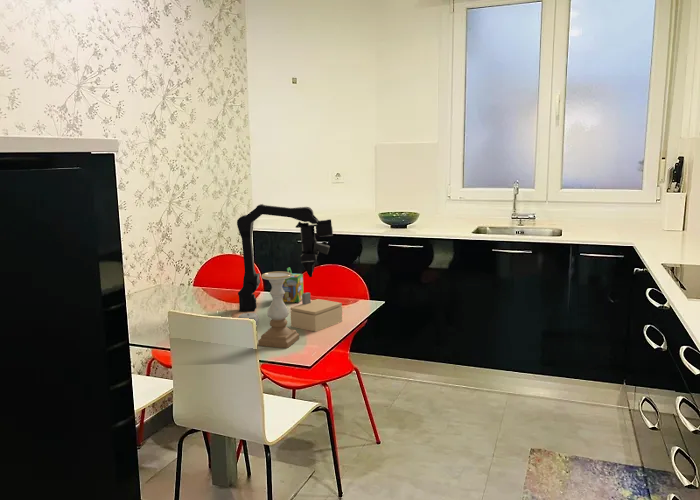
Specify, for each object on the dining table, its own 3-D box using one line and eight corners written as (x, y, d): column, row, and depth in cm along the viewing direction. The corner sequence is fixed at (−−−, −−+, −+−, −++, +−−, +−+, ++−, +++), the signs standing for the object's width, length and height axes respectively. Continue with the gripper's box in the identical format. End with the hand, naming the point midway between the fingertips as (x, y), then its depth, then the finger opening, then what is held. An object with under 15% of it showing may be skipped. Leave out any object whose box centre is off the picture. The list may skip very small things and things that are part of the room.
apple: (239, 327, 214) (238, 310, 213) (260, 327, 214) (259, 310, 213) (236, 334, 206) (235, 316, 205) (258, 333, 206) (258, 315, 205)
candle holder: (271, 336, 203) (268, 270, 199) (299, 338, 200) (297, 271, 196) (257, 345, 192) (254, 276, 189) (287, 348, 189) (285, 278, 186)
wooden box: (291, 326, 214) (290, 310, 213) (318, 316, 227) (317, 302, 226) (315, 331, 207) (315, 315, 206) (342, 321, 220) (341, 306, 219)
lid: (290, 310, 213) (290, 297, 212) (317, 301, 226) (317, 289, 225) (315, 314, 206) (314, 301, 205) (341, 305, 219) (341, 292, 218)
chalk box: (298, 303, 249) (297, 270, 247) (278, 302, 251) (277, 269, 248) (304, 298, 258) (303, 266, 256) (285, 297, 260) (284, 265, 257)
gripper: (326, 239, 225) (330, 277, 228) (328, 233, 244) (331, 268, 246) (298, 241, 226) (302, 279, 228) (302, 235, 244) (305, 270, 246)
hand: (311, 274), depth 237 cm, fingers open, 9 cm apart
